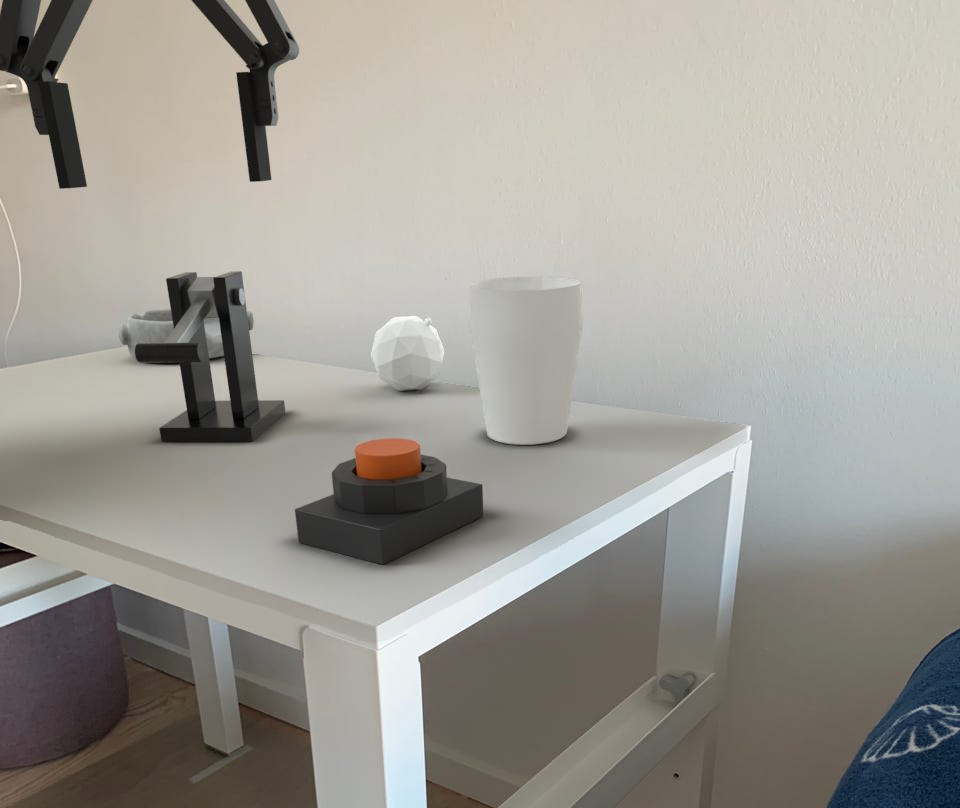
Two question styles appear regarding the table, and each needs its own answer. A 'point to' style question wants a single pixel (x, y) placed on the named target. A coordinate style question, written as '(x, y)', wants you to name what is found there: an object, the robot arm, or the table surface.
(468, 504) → the block
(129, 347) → the dish
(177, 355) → the switch
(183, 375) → the switch bracket
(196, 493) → the table surface
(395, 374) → the ornament
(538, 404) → the cup
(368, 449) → the button
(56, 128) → the robot arm
